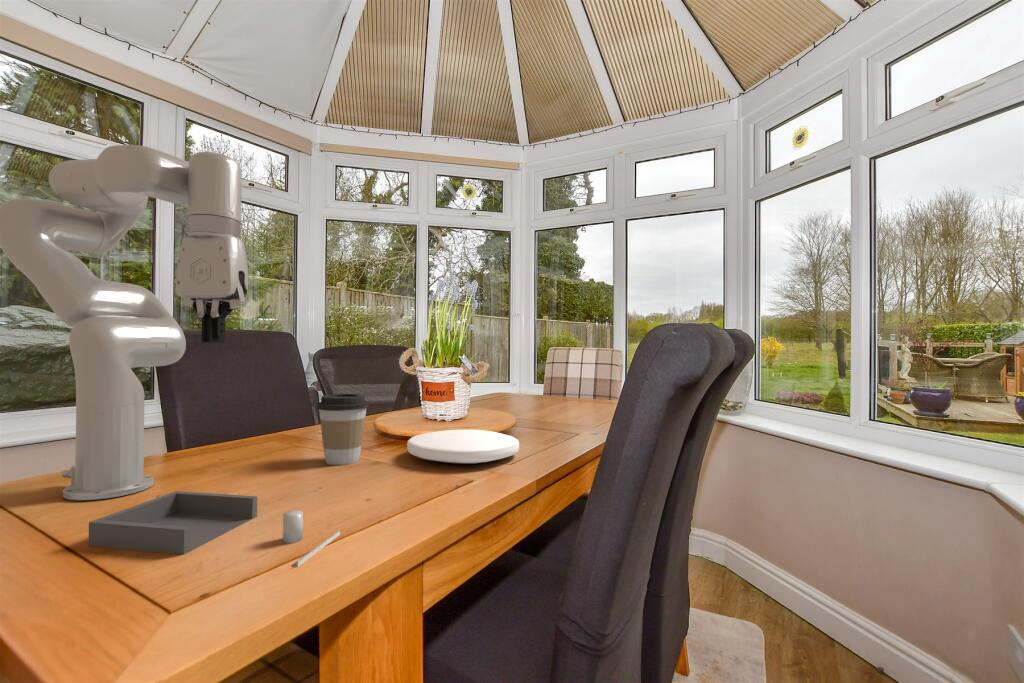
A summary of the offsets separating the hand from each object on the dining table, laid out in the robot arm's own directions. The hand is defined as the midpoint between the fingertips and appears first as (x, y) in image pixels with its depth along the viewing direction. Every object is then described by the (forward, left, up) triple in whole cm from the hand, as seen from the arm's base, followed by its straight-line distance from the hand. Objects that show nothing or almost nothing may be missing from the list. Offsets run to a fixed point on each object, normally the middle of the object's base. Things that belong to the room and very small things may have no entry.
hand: (213, 342), depth 79 cm
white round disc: (+32, +42, -28) cm, 60 cm away
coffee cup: (+6, +32, -27) cm, 42 cm away
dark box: (+6, -12, -27) cm, 30 cm away
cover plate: (+21, -12, -28) cm, 37 cm away
